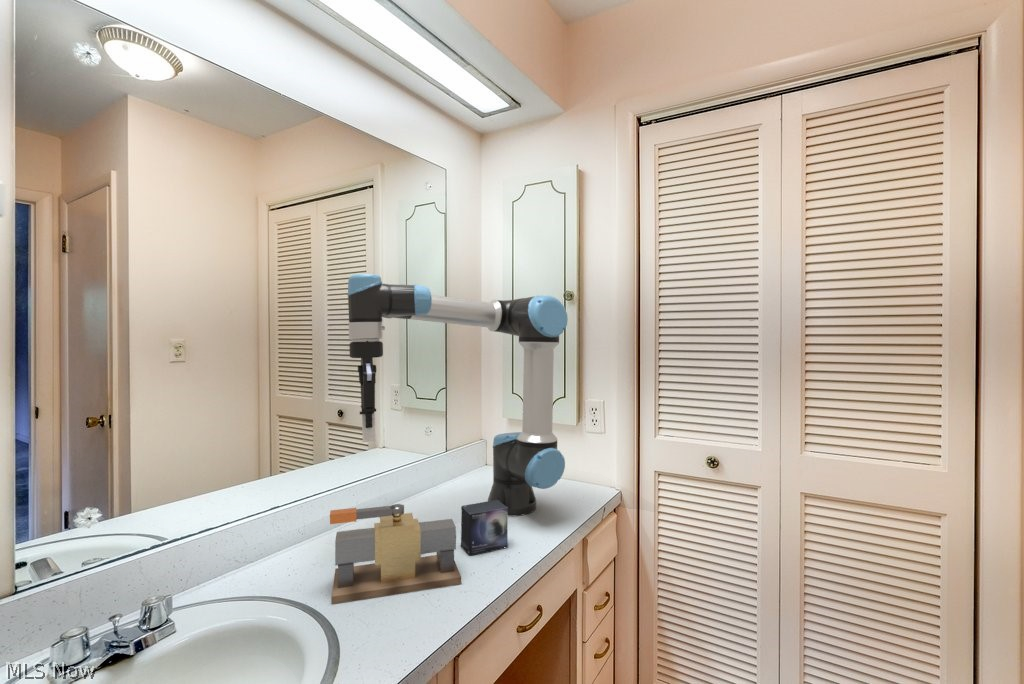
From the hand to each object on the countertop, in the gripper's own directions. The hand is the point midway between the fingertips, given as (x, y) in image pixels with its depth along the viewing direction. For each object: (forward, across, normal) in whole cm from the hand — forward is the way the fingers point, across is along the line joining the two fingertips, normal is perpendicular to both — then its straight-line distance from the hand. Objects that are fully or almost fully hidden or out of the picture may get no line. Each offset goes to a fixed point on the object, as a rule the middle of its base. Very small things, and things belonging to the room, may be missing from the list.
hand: (368, 440), depth 112 cm
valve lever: (+14, -11, +1) cm, 18 cm away
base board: (+29, -11, -4) cm, 31 cm away
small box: (+29, -3, -27) cm, 40 cm away
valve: (+27, -11, -4) cm, 30 cm away
